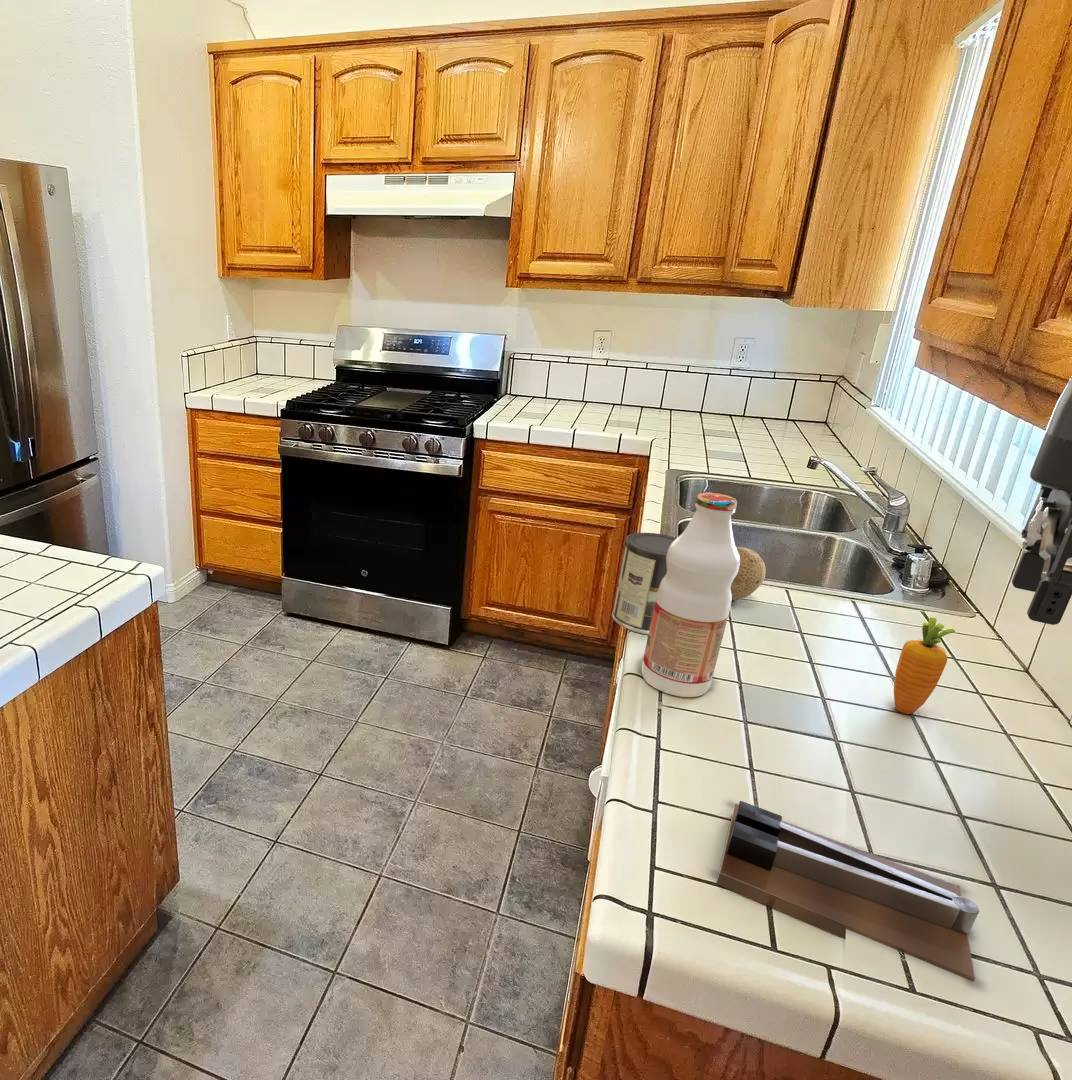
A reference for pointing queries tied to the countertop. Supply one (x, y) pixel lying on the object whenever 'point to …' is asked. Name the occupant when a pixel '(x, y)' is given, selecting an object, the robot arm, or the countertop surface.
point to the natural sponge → (747, 574)
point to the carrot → (919, 668)
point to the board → (850, 908)
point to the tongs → (843, 869)
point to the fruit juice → (693, 601)
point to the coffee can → (640, 580)
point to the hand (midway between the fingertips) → (1032, 604)
